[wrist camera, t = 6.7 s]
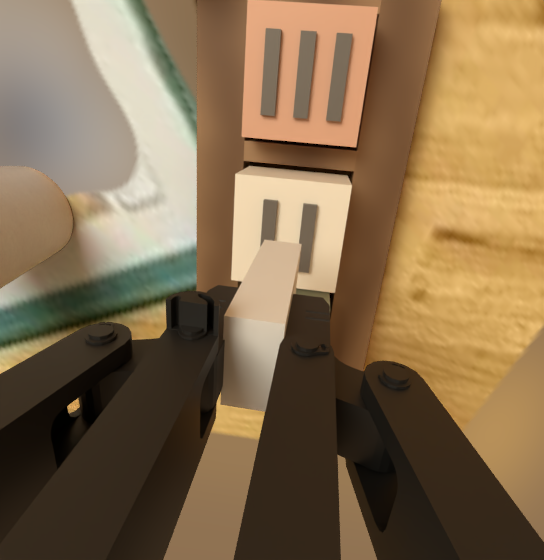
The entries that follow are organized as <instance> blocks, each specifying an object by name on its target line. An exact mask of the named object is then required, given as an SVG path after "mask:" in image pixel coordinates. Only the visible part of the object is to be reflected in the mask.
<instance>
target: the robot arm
mask: <svg viewBox="0 0 544 560" xmlns="http://www.w3.org/2000/svg"><path fill="white" fill-rule="evenodd" d="M301 245H302V244H297V243H289V242H281V241H272V240H264V242H263V243H262V245H261V247H260V249H259V251H258V253H257V255H256V257H255V258H254V260H253V262H252V264H251V266H250V268H249V270H248V272H247V273H246V275H245V277H244V279H243V281H242V283H241V285H240V287H239V288H238V287H230V286H223V285H217V286H215V287H214V288H212V289H210V290H208V291H207V293H205V292H201V291H186V292H179V293H176V294H173V295H171V296H169V297H168V298H167V299H166V321H167V329H166V330H165V331H164V333H163V334H162V335H161V337H160V338H158V339H146V340H132V336H131V331H130V330H129V328H128V327H126V326H124V325H122V324H118V323H112V322H107V323H105V322H102V323H98V324H93V325H89V326H87V327H84V328H82V329H80V330H78V331H76V332H74V333H73V334H71V335H69V336H67V337H65V338H64V339H62V340H60V341H58V342H57V343H55V344H53V345H51V346H49V347H48V348H46V349H44V350H42V351H41V352H39V353H37V354H35V355H33V356H32V357H30V358H28V359H26V360H25V361H23V362H21V363H19V364H17V365H16V366H14V367H12V368H10V369H9V370H7V371H5V372H3V373H1V374H0V560H163V558H164V556H165V553H166V550H167V548H168V545H169V542H170V540H171V537H172V534H173V532H174V529H175V526H176V524H177V521H178V518H179V515H180V513H181V510H182V507H183V505H184V502H185V499H186V497H187V494H188V491H189V488H190V486H191V483H192V481H193V478H194V475H195V472H196V470H197V467H198V464H199V462H200V459H201V456H202V454H203V451H204V448H205V445H206V443H207V440H208V437H209V435H210V432H211V429H212V427H213V424H214V421H215V419H216V402H217V399H218V397H219V394H220V392H221V405H228V406H234V407H240V408H246V409H252V410H258V411H265V416H264V420H263V425H262V430H261V434H260V439H259V444H258V448H257V453H256V458H255V462H254V467H253V472H252V477H251V481H250V486H249V490H248V495H247V500H246V504H245V509H244V513H243V519H242V523H241V528H240V532H239V537H238V541H237V547H236V551H235V555H234V560H341V554H340V526H339V525H340V524H339V523H340V522H339V493H338V491H339V490H338V460H337V454H338V455H340V456H342V457H344V458H345V459H346V467H347V470H348V473H349V476H350V479H351V482H352V485H353V488H354V491H355V494H356V497H357V500H358V503H359V506H360V509H361V512H362V515H363V518H364V521H365V524H366V527H367V530H368V533H369V536H370V539H371V542H372V545H373V548H374V551H375V553H376V557H377V560H544V542H543V541H542V539H541V538H540V537H539V535H538V534H537V533H536V531H535V530H534V529H533V528H532V526H531V524H530V523H529V522H528V521H527V519H526V518H525V516H524V515H523V514H522V513H521V511H520V510H519V508H518V507H517V506H516V504H515V503H514V501H513V500H512V499H511V497H510V496H509V495H508V493H507V492H506V491H505V489H504V488H503V486H502V485H501V484H500V483H499V481H498V480H497V479H496V477H495V476H494V474H493V473H492V472H491V470H490V469H489V468H488V466H487V465H486V463H485V462H484V461H483V459H482V458H481V457H480V455H479V454H478V453H477V451H476V450H475V449H474V448H473V446H472V444H471V443H470V442H469V440H468V439H467V438H466V436H465V435H464V434H463V432H462V431H461V430H460V428H459V427H458V425H457V424H456V423H455V421H454V420H453V419H452V417H451V416H450V415H449V413H448V412H447V411H446V409H445V408H444V407H443V405H442V404H441V402H440V401H439V400H438V398H437V397H436V396H435V394H434V393H433V392H432V390H431V389H430V388H429V386H428V385H427V383H426V382H425V381H424V379H423V378H422V377H421V376H420V375H419V374H418V373H417V372H416V371H414V370H412V369H410V368H409V367H407V366H405V365H402V364H399V363H396V362H390V361H377V362H373V363H371V364H369V365H367V367H366V369H365V371H364V372H363V371H361V370H358V369H355V368H353V367H350V366H348V365H346V364H344V363H343V362H341V361H339V360H338V359H337V358H336V357H335V356H334V351H333V348H332V346H331V345H330V305H329V304H328V303H327V302H326V301H325V299H324V298H322V297H314V296H307V295H299V294H296V287H297V278H298V270H299V262H300V253H301ZM77 398H79V404H80V408H78V409H77V410H76V411H74V412H72V413H70V414H69V413H68V409H67V406H68V405H69V404H70V403H72V402H73V401H74V400H76V399H77Z"/></svg>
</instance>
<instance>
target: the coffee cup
mask: <svg viewBox="0 0 544 560" xmlns="http://www.w3.org/2000/svg"><path fill="white" fill-rule="evenodd" d="M72 230H73V216H72V211H71V208H70V205H69V203H68V200H67V198H66V197H65V195H64V193H63V192H62V191H61V189H60V188H59V187H58V186H57V184H56V183H54V182H53V181H52V180H51V179H50V178H49V177H47V176H46V175H45V174H43V173H41V172H39V171H37V170H35V169H32V168H29V167H24V166H0V288H2V287H3V286H5V285H6V284H8V283H9V282H11V281H13V280H14V279H16V278H17V277H19V276H20V275H22V274H24V273H25V272H27V271H28V270H30V269H31V268H33V267H35V266H36V265H38V264H39V263H41V262H42V261H44V260H46V259H47V258H49V257H50V256H52V255H53V254H55V253H57V252H58V251H60V250H61V249H62V248H63V247H64V246H65V245H66V244H67V243H68V241H69V239H70V237H71V234H72Z"/></svg>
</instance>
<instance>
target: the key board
mask: <svg viewBox="0 0 544 560" xmlns="http://www.w3.org/2000/svg"><path fill="white" fill-rule="evenodd" d="M267 1H284V2H301V3H318V4H335V5H352V6H370V7H378V12H377V19H376V25H375V31H374V38H373V44H372V50H371V57H370V63H369V69H368V76H367V82H366V88H365V95H364V101H363V107H362V114H361V120H360V126H359V133H358V139H357V145H356V147H355V149H350V148H339V147H328V146H317V145H306V144H295V143H284V142H273V141H262V140H251V138H248V137H242V114H243V92H244V69H245V47H246V24H247V2H248V0H197V291H201V292H205V293H207V291H208V290H210V289H212V288H214V287H215V286H217V285H223V286H230V287H238V288H239V287H240V285H241V283H242V281H235V280H231V271H232V246H233V221H234V196H235V174H236V173H238V172H239V171H241V170H243V169H245V168H247V167H249V163H250V161H251V162H261V163H272V164H282V165H292V166H303V167H313V168H324V169H334V170H344V171H351V176H350V182H351V184H352V189H351V196H350V202H349V208H348V214H347V221H346V227H345V233H344V239H343V246H342V252H341V258H340V264H339V271H338V277H337V283H336V289H335V293H332V297H331V303H330V345H331V346H332V348H333V351H334V356H335V357H336V358H337V359H338V360H339V361H341V362H343V363H344V364H346V365H348V366H350V367H353V368H355V369H358V370H361V371H363V369H364V365H365V360H366V355H367V350H368V346H369V341H370V336H371V331H372V327H373V322H374V317H375V313H376V308H377V303H378V298H379V294H380V289H381V284H382V279H383V275H384V270H385V265H386V261H387V256H388V251H389V246H390V242H391V237H392V232H393V227H394V223H395V218H396V213H397V208H398V204H399V199H400V194H401V190H402V185H403V180H404V175H405V171H406V166H407V161H408V156H409V152H410V147H411V142H412V138H413V133H414V128H415V123H416V119H417V114H418V109H419V104H420V100H421V95H422V90H423V86H424V81H425V76H426V71H427V67H428V62H429V57H430V52H431V48H432V43H433V38H434V34H435V29H436V24H437V19H438V15H439V10H440V5H441V0H267Z"/></svg>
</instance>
